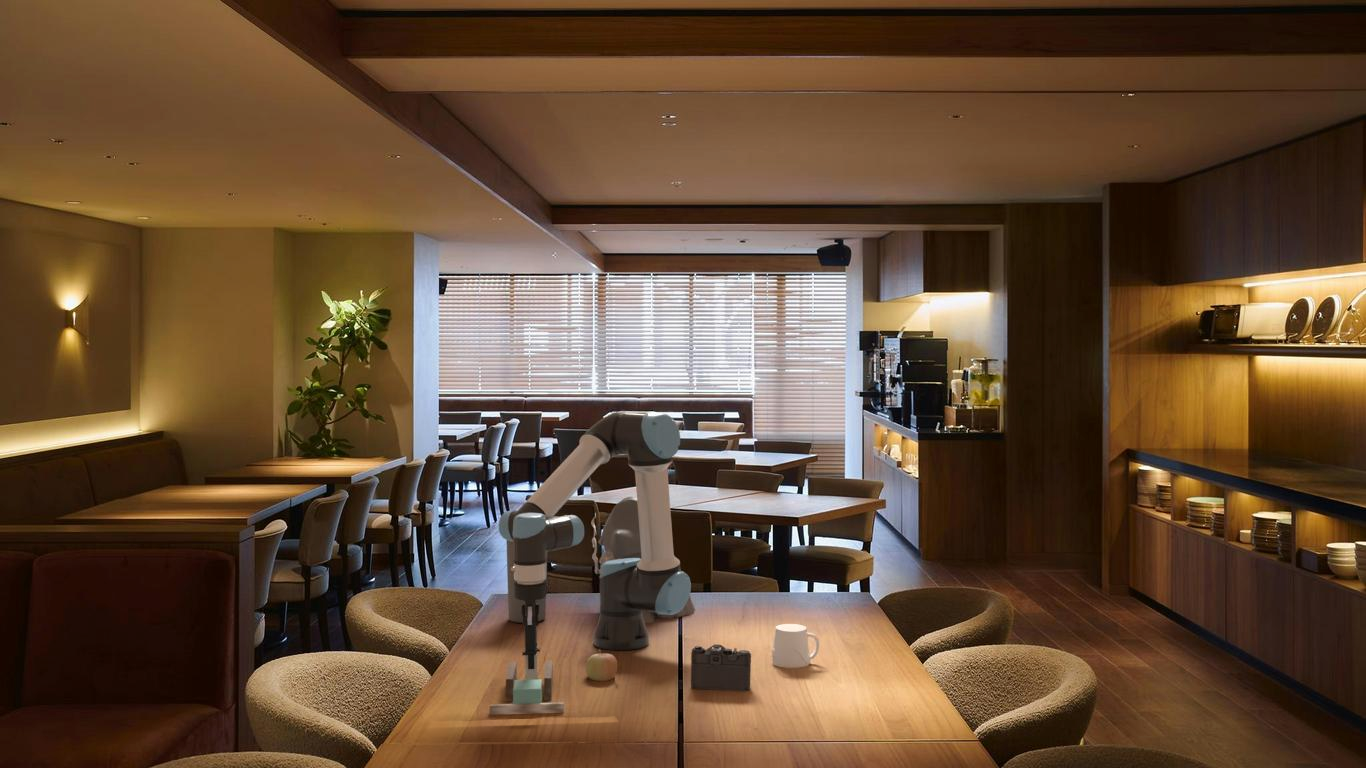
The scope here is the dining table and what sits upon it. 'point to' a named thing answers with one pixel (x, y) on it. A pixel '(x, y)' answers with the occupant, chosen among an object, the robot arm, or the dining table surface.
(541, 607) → the canister
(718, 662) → the camera
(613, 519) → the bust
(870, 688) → the dining table surface
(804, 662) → the mug
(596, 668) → the fruit
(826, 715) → the dining table surface
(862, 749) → the dining table surface
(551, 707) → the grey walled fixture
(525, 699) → the block
